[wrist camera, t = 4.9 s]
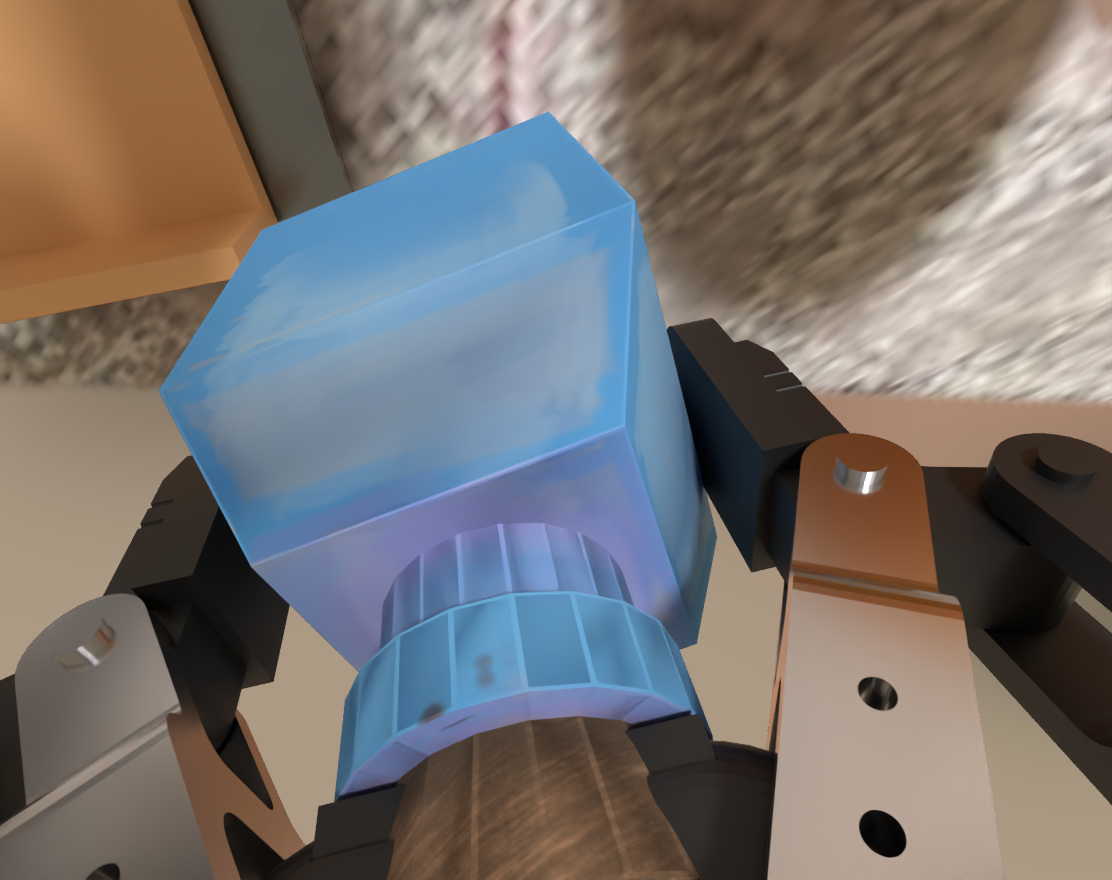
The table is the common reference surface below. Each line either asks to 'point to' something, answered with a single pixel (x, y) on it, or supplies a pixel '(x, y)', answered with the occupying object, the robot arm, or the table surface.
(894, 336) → the table surface
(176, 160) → the press bed carriage
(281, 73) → the press frame
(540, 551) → the perfume bottle
